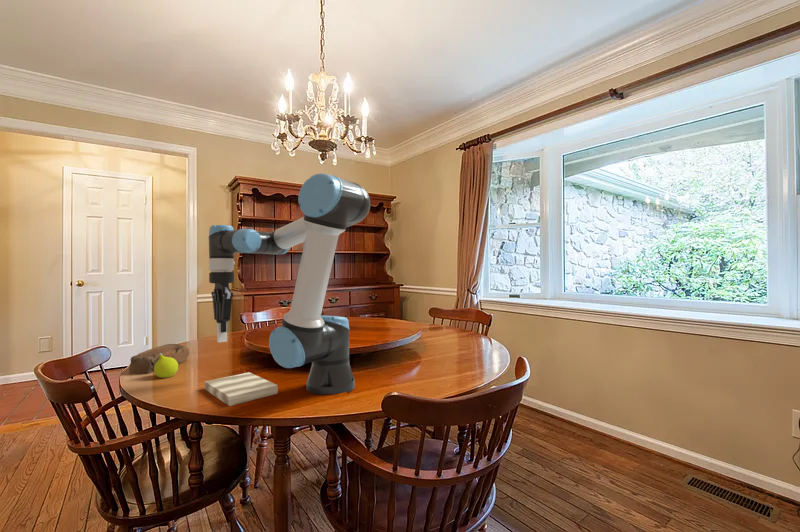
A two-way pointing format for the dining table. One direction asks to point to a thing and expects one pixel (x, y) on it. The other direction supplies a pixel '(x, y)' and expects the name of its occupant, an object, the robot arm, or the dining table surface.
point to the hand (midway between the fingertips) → (222, 341)
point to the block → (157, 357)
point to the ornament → (165, 367)
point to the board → (240, 388)
